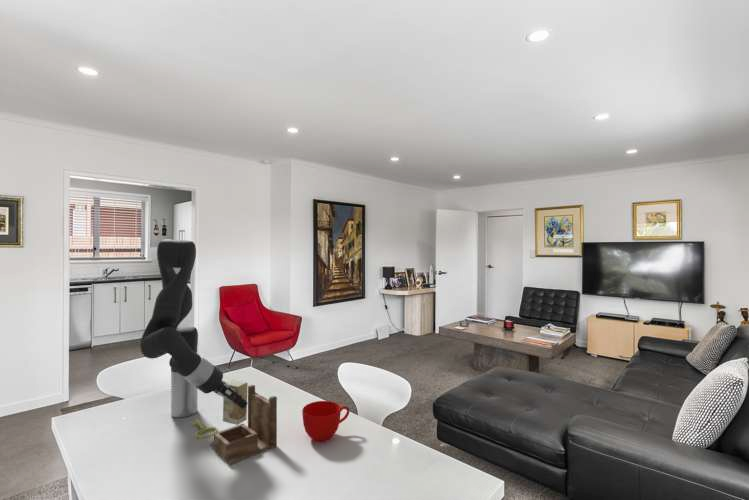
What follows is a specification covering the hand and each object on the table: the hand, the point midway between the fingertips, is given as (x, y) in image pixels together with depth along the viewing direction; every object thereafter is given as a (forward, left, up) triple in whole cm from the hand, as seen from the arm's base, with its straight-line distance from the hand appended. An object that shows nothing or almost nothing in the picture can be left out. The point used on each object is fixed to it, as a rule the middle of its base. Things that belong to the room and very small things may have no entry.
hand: (239, 402), depth 124 cm
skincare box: (0, -2, -6) cm, 6 cm away
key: (-20, -4, -15) cm, 26 cm away
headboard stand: (0, +1, -15) cm, 15 cm away
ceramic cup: (+14, +25, -15) cm, 32 cm away
